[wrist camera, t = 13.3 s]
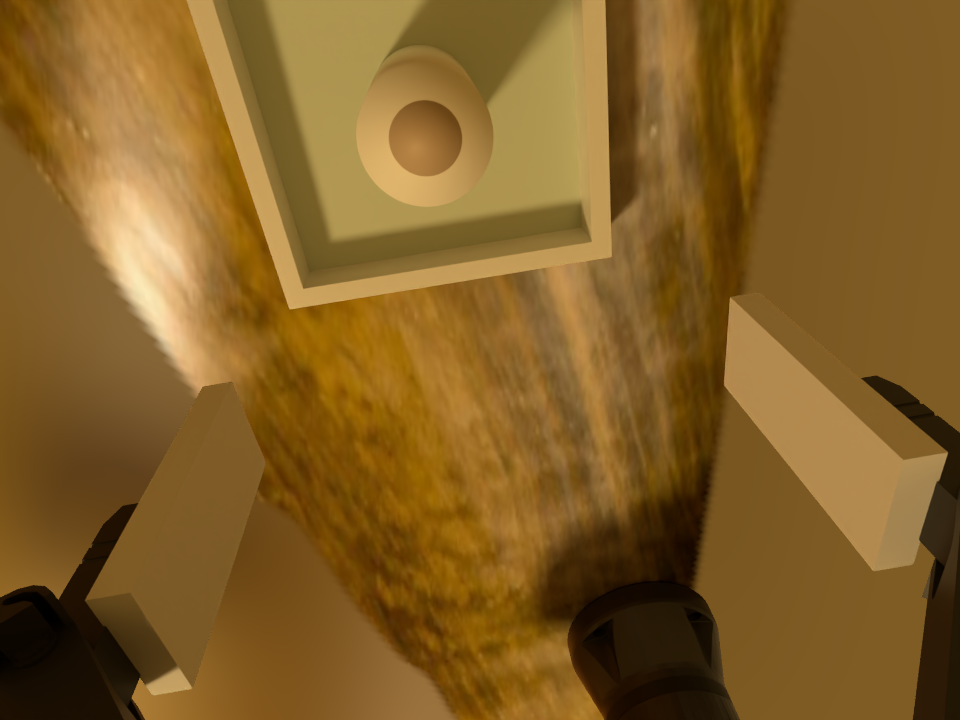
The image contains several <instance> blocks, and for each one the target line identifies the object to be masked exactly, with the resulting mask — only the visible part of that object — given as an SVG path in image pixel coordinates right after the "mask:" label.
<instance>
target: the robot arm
mask: <svg viewBox="0 0 960 720" xmlns="http://www.w3.org/2000/svg"><path fill="white" fill-rule="evenodd" d="M724 386H725V387H726V388H727V389H728V391H729V392H730V393H731V394H732V396H733V397H734V398H735V399H736V401H737V402H738V403H739V404H740V405H741V407H742V408H743V409H744V410H745V412H746V413H747V414H748V415H749V417H750V418H751V419H752V420H753V422H754V423H755V424H756V425H757V427H758V428H759V429H760V430H761V432H762V433H763V434H764V435H765V437H766V438H767V439H768V440H769V441H770V443H771V444H772V445H773V446H774V448H775V449H776V450H777V451H778V453H779V454H780V455H781V457H782V458H783V459H784V460H785V462H786V463H787V464H788V465H789V467H790V468H792V470H793V471H794V473H795V474H796V475H797V476H798V478H799V479H800V480H801V481H802V482H803V484H804V485H805V486H806V488H807V489H808V490H809V491H810V493H811V494H812V495H813V496H814V498H815V499H816V500H817V501H818V502H819V504H820V505H821V506H822V508H823V509H824V510H825V511H826V513H827V514H828V515H829V516H830V517H831V519H832V520H833V521H834V523H835V524H836V525H837V526H838V528H839V529H840V530H841V531H842V532H843V534H844V535H845V536H846V537H847V539H848V540H849V541H850V542H851V544H852V545H853V546H854V547H855V549H856V550H857V551H858V552H859V554H860V555H861V556H862V557H863V559H864V560H865V561H866V562H867V564H868V565H869V566H870V567H871V569H872V570H873V571H878V570H883V569H889V568H895V567H901V566H907V565H912V564H913V563H914V560H915V557H916V553H917V550H918V547H919V544H920V542H921V543H922V544H923V545H924V546H925V547H926V548H927V549H928V550H929V551H930V552H931V553H932V554H933V555H934V557H935V560H934V563H933V566H932V569H931V572H930V575H929V578H928V581H927V584H926V587H925V590H924V593H923V596H922V597H923V598H926V599H928V600H927V609H926V617H925V625H924V633H923V641H922V649H921V658H920V666H919V674H918V682H917V690H916V699H915V707H914V715H913V720H960V433H959V432H958V431H957V430H955V429H954V428H953V427H952V426H950V425H949V424H948V423H947V422H945V421H944V420H943V419H942V418H940V417H939V416H935V415H934V412H933V411H932V410H930V409H929V408H928V407H926V406H925V405H924V404H920V402H919V400H918V399H916V398H915V397H914V396H913V395H911V394H910V393H909V392H908V391H906V390H905V389H904V388H902V387H901V386H899V385H896V384H894V383H892V382H890V381H887V380H885V379H883V378H880V377H878V376H871V377H865V378H860V377H858V376H857V375H856V374H855V373H854V372H852V371H851V370H850V369H849V368H848V367H847V366H845V365H844V364H843V363H842V362H841V361H840V360H839V359H837V358H836V357H835V356H834V355H833V354H831V353H830V352H829V351H828V350H827V349H826V348H824V347H823V346H822V345H821V344H820V343H818V342H817V341H816V340H815V339H814V338H813V337H811V336H810V335H809V334H808V333H807V332H805V331H804V330H803V329H802V328H801V327H799V326H798V325H797V324H796V323H795V322H794V321H793V320H791V319H790V318H789V317H788V316H786V315H785V314H784V313H783V312H782V311H781V310H780V309H778V308H777V307H776V306H775V305H774V304H772V303H771V302H770V301H769V300H768V299H767V298H765V297H764V296H763V295H762V294H761V293H759V292H757V293H751V294H745V295H740V296H734V297H730V307H729V321H728V335H727V349H726V364H725V378H724ZM265 464H266V462H265V460H264V457H263V455H262V453H261V450H260V448H259V445H258V443H257V441H256V438H255V436H254V433H253V431H252V429H251V426H250V424H249V421H248V419H247V417H246V414H245V412H244V409H243V407H242V405H241V402H240V400H239V397H238V395H237V392H236V390H235V388H234V385H233V383H232V382H228V383H222V384H216V385H210V386H204V387H202V389H201V391H200V393H199V395H198V396H197V398H196V400H195V402H194V404H193V405H192V407H191V409H190V411H189V413H188V415H187V416H186V418H185V420H184V422H183V424H182V425H181V427H180V429H179V431H178V433H177V435H176V436H175V438H174V440H173V442H172V444H171V445H170V447H169V449H168V451H167V453H166V454H165V456H164V458H163V460H162V462H161V463H160V465H159V467H158V469H157V471H156V473H155V475H154V476H153V478H152V480H151V482H150V483H149V485H148V487H147V489H146V491H145V493H144V494H143V496H142V498H141V500H140V502H139V503H136V504H131V505H125V506H122V507H121V508H120V509H119V510H118V511H117V512H116V513H115V514H114V515H113V516H112V517H111V518H110V519H109V520H108V521H106V522H105V523H104V524H103V526H102V528H101V529H100V531H99V533H98V534H97V536H96V538H95V539H94V541H93V543H92V548H89V549H88V551H87V553H86V554H85V556H84V558H83V559H82V564H79V566H78V568H77V569H76V571H75V573H74V574H73V576H72V578H71V579H70V581H69V583H68V584H67V586H66V588H65V590H64V591H63V593H62V595H61V596H60V598H59V600H58V599H57V598H56V597H55V595H54V594H53V593H52V592H51V591H50V590H49V589H48V588H47V587H45V586H35V585H33V586H29V587H24V588H20V589H17V590H15V591H13V592H11V593H9V594H7V595H4V596H2V597H0V720H145V719H144V717H143V715H142V714H141V712H140V710H139V708H138V706H137V705H136V704H135V703H134V701H133V700H132V695H133V693H134V690H135V688H136V685H137V683H138V680H139V678H141V680H142V681H143V683H144V684H145V685H146V687H147V688H148V690H149V691H150V692H151V693H152V695H159V694H164V693H170V692H176V691H182V690H187V689H192V688H193V686H194V683H195V680H196V677H197V674H198V671H199V667H200V664H201V661H202V658H203V655H204V652H205V649H206V646H207V643H208V640H209V637H210V633H211V630H212V628H213V624H214V621H215V618H216V615H217V612H218V609H219V606H220V603H221V600H222V597H223V594H224V591H225V587H226V584H227V581H228V578H229V575H230V572H231V569H232V566H233V563H234V560H235V557H236V553H237V550H238V547H239V544H240V541H241V538H242V535H243V532H244V529H245V526H246V523H247V520H248V517H249V513H250V510H251V507H252V504H253V501H254V498H255V495H256V492H257V489H258V486H259V483H260V480H261V476H262V473H263V470H264V467H265ZM568 648H569V652H570V656H571V661H572V664H573V667H574V669H575V672H576V674H577V675H578V677H579V678H580V680H581V682H582V683H583V685H584V687H585V688H586V690H587V691H588V693H589V695H590V696H591V698H592V700H593V701H594V703H595V704H596V706H597V708H598V709H599V711H600V713H601V714H602V716H603V718H604V720H740V719H739V716H738V714H737V712H736V710H735V708H734V706H733V703H732V701H731V699H730V697H729V694H728V692H727V690H726V687H725V684H724V677H723V668H722V659H721V651H720V641H719V632H718V628H717V624H716V622H715V619H714V617H713V615H712V613H711V611H710V609H709V607H708V604H707V603H706V601H705V600H704V599H703V598H702V597H701V596H700V595H699V594H698V593H697V592H695V591H693V590H691V589H689V588H687V587H684V586H681V585H677V584H672V583H662V582H653V583H642V584H636V585H631V586H627V587H624V588H621V589H618V590H615V591H613V592H610V593H608V594H606V595H604V596H602V597H600V598H599V599H597V600H595V601H594V602H592V603H591V604H590V605H588V606H587V607H586V608H585V609H584V610H583V611H582V612H581V613H580V614H579V615H578V616H577V617H576V619H575V620H574V622H573V623H572V625H571V627H570V630H569V633H568Z"/></svg>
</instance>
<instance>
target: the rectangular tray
mask: <svg viewBox="0 0 960 720" xmlns="http://www.w3.org/2000/svg"><path fill="white" fill-rule="evenodd" d="M187 3H188V6H189V9H190V12H191V15H192V18H193V21H194V24H195V27H196V30H197V33H198V36H199V39H200V42H201V45H202V48H203V51H204V54H205V57H206V60H207V63H208V66H209V69H210V72H211V75H212V78H213V81H214V84H215V87H216V90H217V93H218V96H219V99H220V102H221V105H222V108H223V111H224V114H225V117H226V120H227V123H228V126H229V129H230V132H231V135H232V138H233V141H234V144H235V147H236V150H237V153H238V156H239V159H240V162H241V165H242V168H243V171H244V174H245V177H246V180H247V183H248V186H249V189H250V192H251V195H252V198H253V201H254V204H255V207H256V210H257V213H258V216H259V219H260V222H261V225H262V228H263V231H264V234H265V237H266V240H267V243H268V246H269V249H270V252H271V255H272V258H273V261H274V264H275V267H276V270H277V273H278V276H279V279H280V282H281V285H282V288H283V291H284V294H285V297H286V300H287V303H288V306H289V309H295V308H301V307H307V306H313V305H319V304H326V303H332V302H338V301H344V300H350V299H356V298H362V297H368V296H375V295H381V294H387V293H393V292H399V291H405V290H411V289H418V288H424V287H430V286H436V285H442V284H448V283H454V282H460V281H467V280H473V279H479V278H485V277H491V276H497V275H503V274H510V273H516V272H522V271H528V270H534V269H540V268H546V267H553V266H559V265H565V264H571V263H577V262H583V261H589V260H595V259H602V258H608V257H612V250H611V210H610V169H609V128H608V87H607V46H606V5H605V0H187ZM411 45H430V46H434V47H437V48H440V49H442V50H444V51H446V52H448V53H449V54H450V55H452V56H453V57H454V58H455V59H456V60H458V61H459V63H460V64H461V65H462V66H463V68H464V69H465V71H466V72H467V74H468V75H469V77H470V79H471V80H472V82H473V84H474V85H475V87H476V88H477V90H478V92H479V93H480V95H481V97H482V98H483V100H484V102H485V104H486V106H487V108H488V110H489V113H490V116H491V120H492V125H493V135H494V140H493V150H492V155H491V158H490V161H489V164H488V166H487V169H486V171H485V173H484V174H483V176H482V177H481V179H480V180H479V181H478V183H477V184H476V185H475V186H474V187H473V188H472V189H471V190H470V191H469V192H468V193H466V194H465V195H463V196H462V197H460V198H458V199H457V200H455V201H452V202H450V203H447V204H444V205H439V206H432V207H420V206H414V205H410V204H406V203H403V202H401V201H399V200H396V199H394V198H393V197H391V196H389V195H388V194H387V193H385V192H384V191H383V190H381V189H380V188H379V187H378V186H377V185H376V184H375V183H374V181H373V180H372V179H371V177H370V176H369V175H368V173H367V171H366V170H365V168H364V166H363V163H362V161H361V159H360V155H359V152H358V147H357V141H356V127H357V120H358V115H359V112H360V109H361V106H362V104H363V101H364V99H365V97H366V94H367V92H368V90H369V87H370V85H371V83H372V80H373V78H374V76H375V74H376V72H377V70H378V68H379V67H380V65H381V64H382V63H383V62H384V61H385V59H386V58H387V57H389V56H390V55H391V54H392V53H394V52H396V51H397V50H399V49H401V48H404V47H407V46H411Z"/></svg>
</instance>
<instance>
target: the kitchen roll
mask: <svg viewBox="0 0 960 720" xmlns="http://www.w3.org/2000/svg"><path fill="white" fill-rule="evenodd" d="M493 140H494V135H493V125H492V120H491V116H490V113H489V110H488V108H487V106H486V104H485V102H484V100H483V98H482V97H481V95H480V93H479V92H478V90H477V88H476V87H475V85H474V84H473V82H472V80H471V79H470V77H469V75H468V74H467V72H466V71H465V69H464V68H463V66H462V65H461V64H460V63H459V61H458V60H456V59H455V58H454V57H453V56H452V55H450V54H449V53H448V52H446V51H444V50H442V49H440V48H437V47H434V46H430V45H411V46H407V47H404V48H401V49H399V50H397V51H396V52H394V53H392V54H391V55H390V56H389V57H387V58H386V59H385V61H384V62H383V63H382V64H381V65H380V67H379V68H378V70H377V72H376V74H375V76H374V78H373V80H372V83H371V85H370V87H369V90H368V92H367V94H366V97H365V99H364V101H363V104H362V106H361V109H360V112H359V115H358V120H357V127H356V141H357V147H358V152H359V155H360V159H361V161H362V163H363V166H364V168H365V170H366V171H367V173H368V175H369V176H370V177H371V179H372V180H373V181H374V183H375V184H376V185H377V186H378V187H379V188H380V189H381V190H383V191H384V192H385V193H387V194H388V195H389V196H391V197H393V198H394V199H396V200H399V201H401V202H403V203H406V204H410V205H414V206H420V207H432V206H439V205H444V204H447V203H450V202H452V201H455V200H457V199H458V198H460V197H462V196H463V195H465V194H466V193H468V192H469V191H470V190H471V189H472V188H473V187H474V186H475V185H476V184H477V183H478V181H479V180H480V179H481V177H482V176H483V174H484V173H485V171H486V169H487V166H488V164H489V161H490V158H491V155H492V150H493Z"/></svg>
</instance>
